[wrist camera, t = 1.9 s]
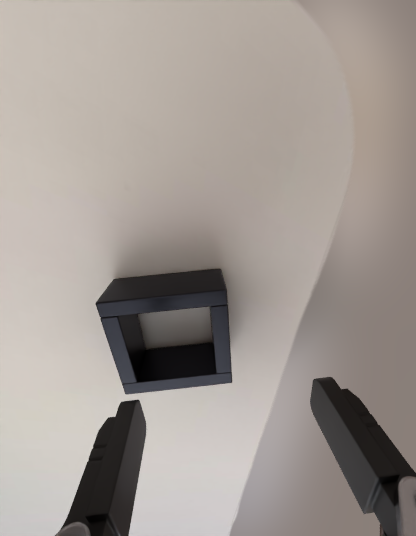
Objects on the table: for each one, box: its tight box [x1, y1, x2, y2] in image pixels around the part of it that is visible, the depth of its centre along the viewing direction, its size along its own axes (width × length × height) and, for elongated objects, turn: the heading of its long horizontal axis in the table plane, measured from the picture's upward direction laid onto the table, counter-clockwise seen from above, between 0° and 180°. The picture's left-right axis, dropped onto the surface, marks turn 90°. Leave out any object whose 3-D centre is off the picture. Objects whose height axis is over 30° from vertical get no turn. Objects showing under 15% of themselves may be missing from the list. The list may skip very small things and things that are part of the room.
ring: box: [96, 269, 232, 394], centre depth 15 cm, size 7×7×3 cm
